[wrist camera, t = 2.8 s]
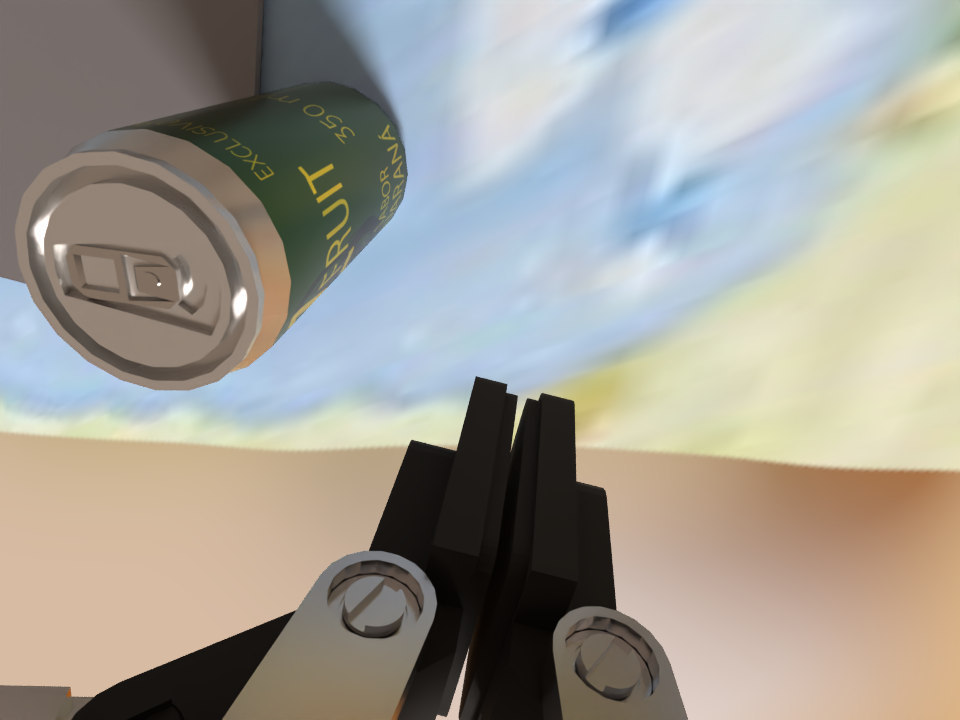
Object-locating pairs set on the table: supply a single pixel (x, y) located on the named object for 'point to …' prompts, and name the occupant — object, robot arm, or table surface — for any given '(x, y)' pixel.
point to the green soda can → (207, 229)
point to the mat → (109, 77)
